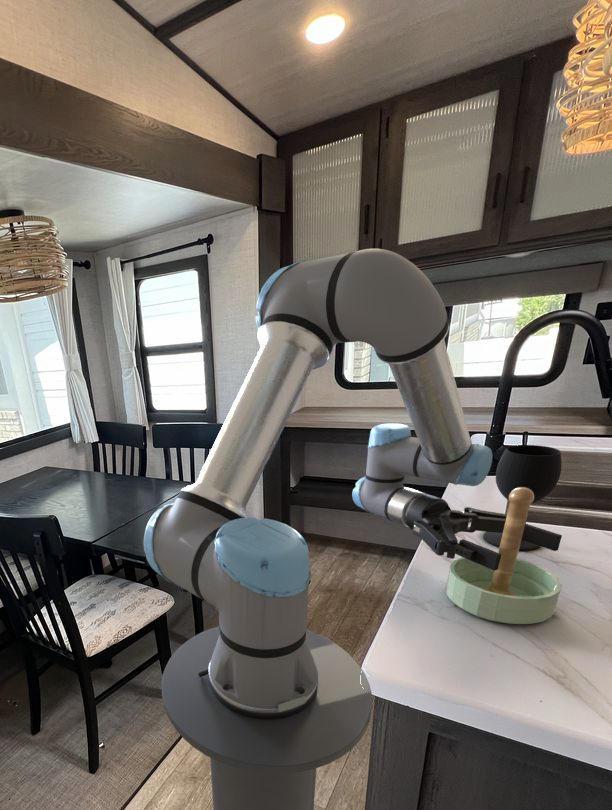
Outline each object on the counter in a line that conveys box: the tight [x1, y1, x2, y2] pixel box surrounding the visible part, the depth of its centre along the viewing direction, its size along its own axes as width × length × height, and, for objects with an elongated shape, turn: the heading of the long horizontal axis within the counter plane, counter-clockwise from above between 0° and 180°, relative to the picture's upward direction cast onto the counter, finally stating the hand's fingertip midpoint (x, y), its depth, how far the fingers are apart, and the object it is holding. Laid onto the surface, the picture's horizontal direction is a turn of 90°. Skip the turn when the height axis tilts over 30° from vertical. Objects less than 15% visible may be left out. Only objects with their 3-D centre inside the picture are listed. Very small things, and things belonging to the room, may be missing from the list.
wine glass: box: [482, 444, 563, 552], centre depth 97 cm, size 10×10×20 cm
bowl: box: [445, 556, 563, 625], centre depth 80 cm, size 15×15×6 cm
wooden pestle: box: [483, 487, 534, 596], centre depth 77 cm, size 4×4×20 cm
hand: (529, 552), depth 74 cm, fingers open, 13 cm apart
